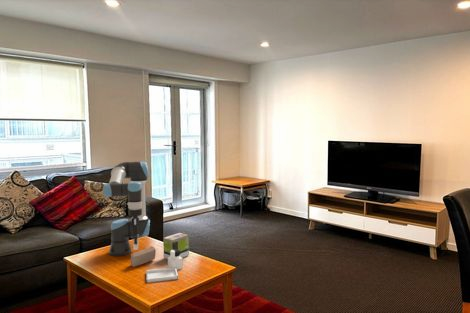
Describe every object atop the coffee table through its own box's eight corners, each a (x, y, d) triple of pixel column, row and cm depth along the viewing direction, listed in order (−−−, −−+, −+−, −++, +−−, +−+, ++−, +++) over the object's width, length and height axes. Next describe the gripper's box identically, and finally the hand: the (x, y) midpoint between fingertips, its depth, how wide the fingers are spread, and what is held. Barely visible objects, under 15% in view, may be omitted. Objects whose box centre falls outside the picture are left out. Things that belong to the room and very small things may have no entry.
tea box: (179, 252, 247) (179, 232, 246) (189, 255, 240) (189, 234, 239) (163, 258, 235) (162, 237, 234) (172, 261, 229) (172, 240, 228)
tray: (146, 273, 210) (146, 270, 210) (176, 270, 215) (176, 267, 214) (146, 282, 197) (146, 279, 197) (178, 279, 201) (178, 275, 201)
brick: (133, 257, 217) (130, 253, 220) (132, 268, 220) (129, 263, 223) (156, 249, 228) (153, 245, 231) (155, 259, 231) (152, 255, 234)
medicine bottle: (177, 265, 223) (177, 247, 223) (183, 268, 218) (182, 250, 217) (167, 268, 219) (167, 249, 218) (173, 271, 213) (172, 252, 213)
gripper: (129, 205, 208) (129, 242, 209) (127, 212, 188) (128, 253, 190) (141, 204, 210) (142, 241, 211) (141, 212, 190) (142, 252, 192)
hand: (136, 247), depth 200 cm, fingers open, 8 cm apart
